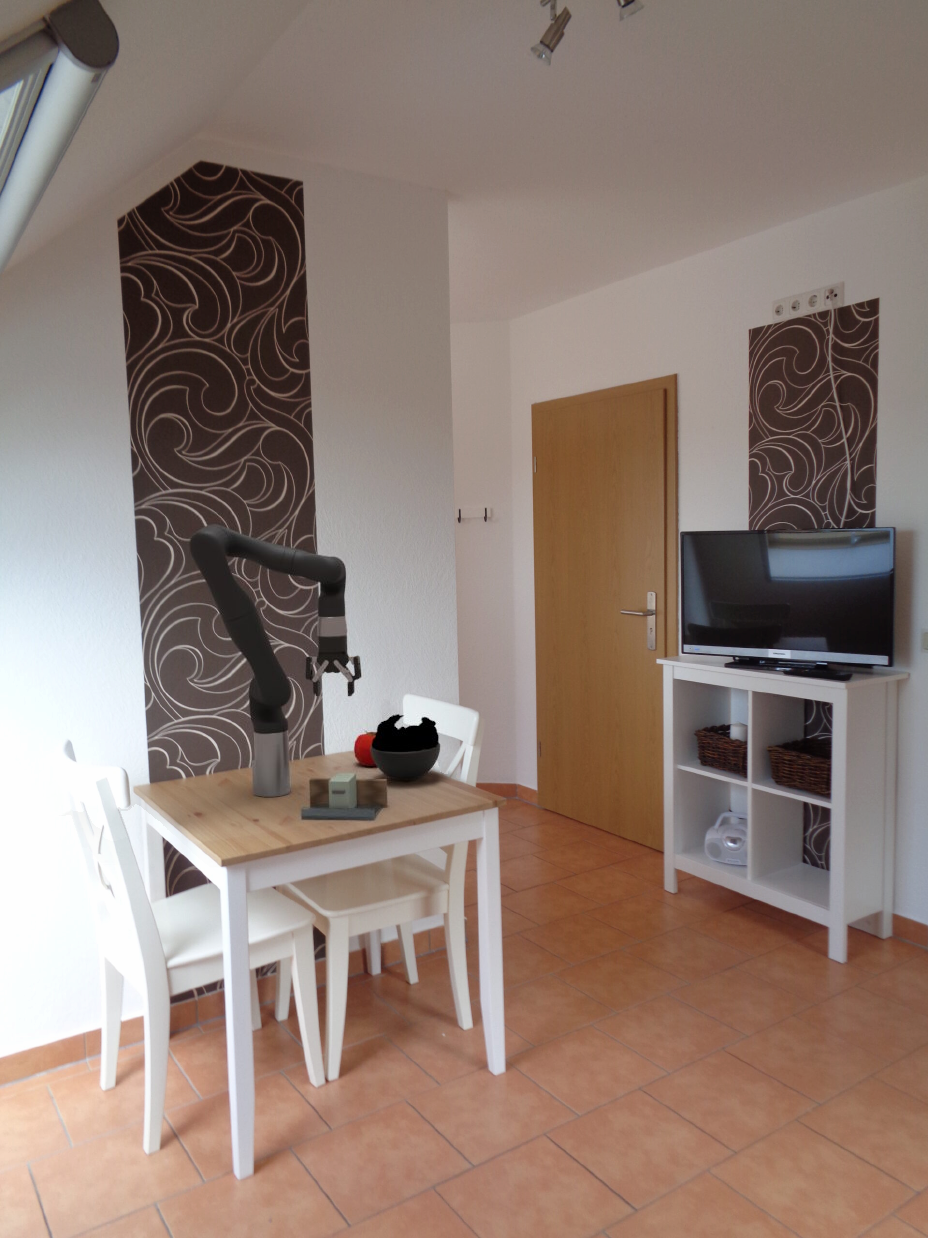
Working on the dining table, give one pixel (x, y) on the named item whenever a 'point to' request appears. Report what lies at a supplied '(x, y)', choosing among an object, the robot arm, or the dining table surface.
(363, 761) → the tomato
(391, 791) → the dining table surface
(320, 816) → the dark grey flat slab
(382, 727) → the coal bowl
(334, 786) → the cabinet
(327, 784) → the wall board
